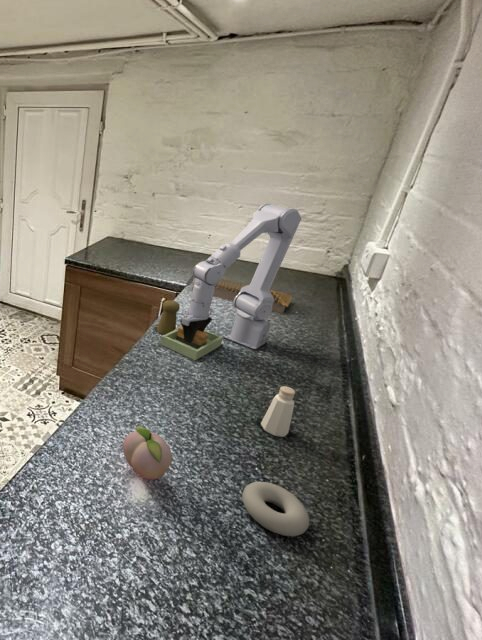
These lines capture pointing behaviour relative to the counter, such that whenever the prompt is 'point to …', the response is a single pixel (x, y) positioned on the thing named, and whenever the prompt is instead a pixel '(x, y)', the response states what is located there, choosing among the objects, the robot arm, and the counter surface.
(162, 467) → the decorative fruit
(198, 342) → the orange brown rectangular block
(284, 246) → the robot arm
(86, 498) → the counter surface
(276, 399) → the salt shaker
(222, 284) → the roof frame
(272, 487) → the donut
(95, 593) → the counter surface
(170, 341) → the tray
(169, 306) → the pepper mill
